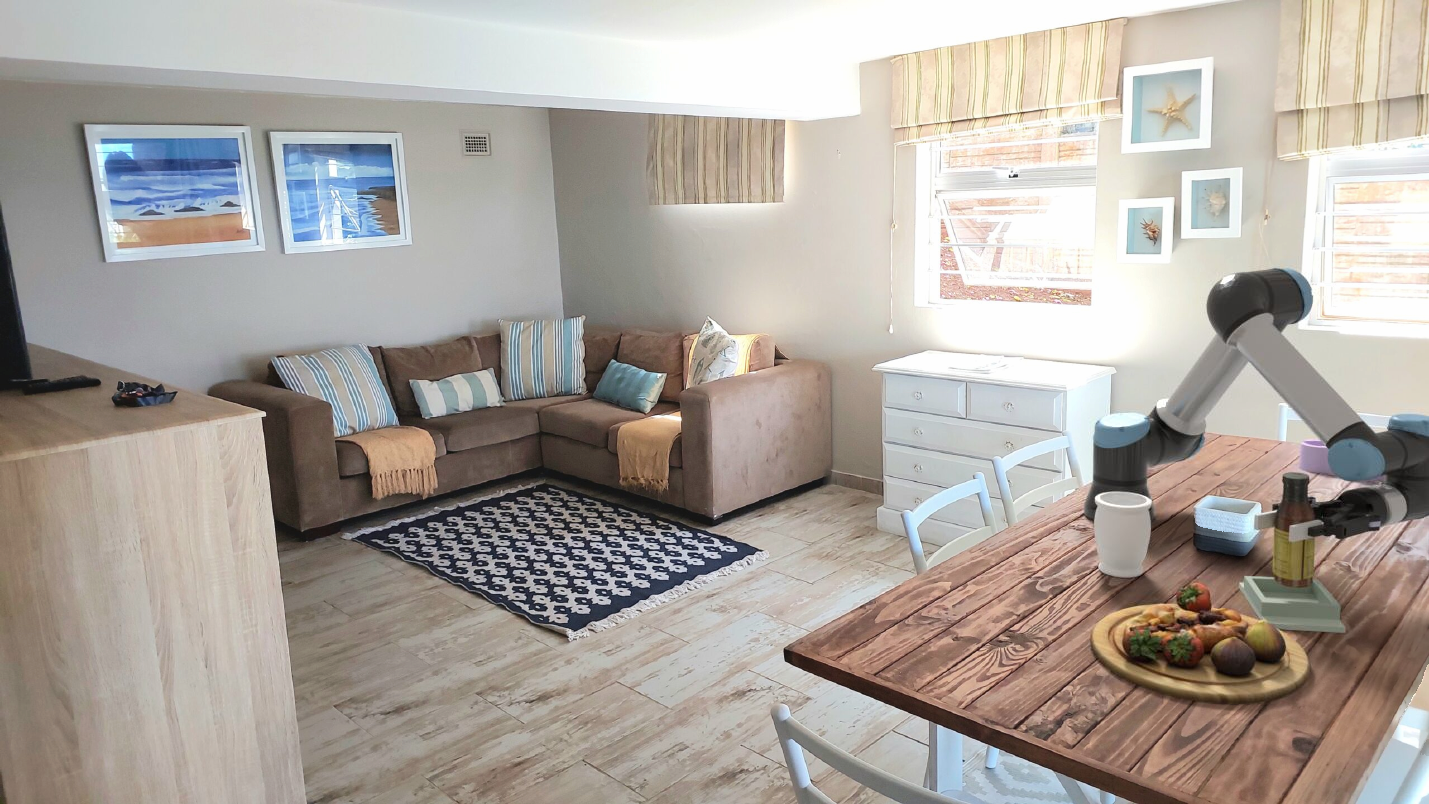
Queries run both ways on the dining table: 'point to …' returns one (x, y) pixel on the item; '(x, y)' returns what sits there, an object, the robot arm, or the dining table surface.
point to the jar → (1122, 532)
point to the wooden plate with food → (1200, 651)
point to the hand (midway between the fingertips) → (1273, 527)
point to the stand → (1293, 605)
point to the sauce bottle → (1288, 557)
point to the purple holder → (1317, 458)
